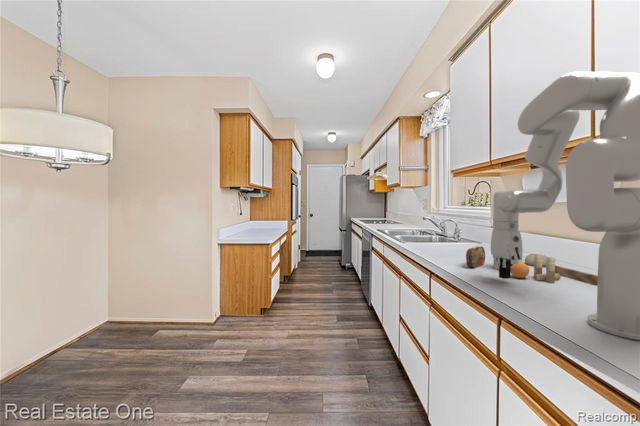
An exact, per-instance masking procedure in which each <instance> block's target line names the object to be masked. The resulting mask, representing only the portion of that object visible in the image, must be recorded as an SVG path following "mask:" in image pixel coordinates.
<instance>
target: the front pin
mask: <svg viewBox="0 0 640 426" xmlns="http://www.w3.org/2000/svg"><path fill="white" fill-rule="evenodd" d="M533 279H534V280H535V281H537V282H541V281H542V282H543V281H545V282H546V273H542V274H535V275H534V274H533ZM558 280H561V276H560V274H558V273H555V281H558Z"/></svg>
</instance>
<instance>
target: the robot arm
mask: <svg viewBox="0 0 640 426" xmlns="http://www.w3.org/2000/svg"><path fill="white" fill-rule="evenodd" d="M580 111H605V112H604V113H603V115H602V117H601V119H600V123H599V129H598V130H599V137H594V138H589V139H586V140H582V141H581V142H579V143H577V144H576V145H575V146H574V147H573V148H572V150H571V151H570V152H569V154H568V156H567V159H566V162H565V188H566V191H565V192H566V208H567V210H566V211H567V214H568V217H569V219H570V222H571V223H572V224H573V225H574V226H575V227H576V228H578V229H580V230H582V231H585V232H592V233H602V232H603V233H604V234H603V235H602V238H601V241H600V244H599V247H598V257H597V261H598V262H597V276H598V285H596V286H597V288H596V289H597V290H596V313H590V314H588V315H587V323H588V324H589V325H591V326H592V327H593V328H595V329H596V330H597V329H598V330H600V331H602V332H605V333H607V334H610V335H613V336H618V337H621V338H626V339H630V340H635V341H640V187H615V182H616V183H619V182H620V183H621V182H622V183H623V182H624V183H625V182H635V181H636V182H637V181H640V73H639V72H638V73H637V72H629V71H628V72H625V71H624V72H622V71H621V72H619V71H617V72H616V71H615V72H614V71H573V72H568V73H566V74H563V75H561V76H559V77H558V78H556V80H554V81H553V82H551V84H549V85H548V86H547V87H546V88H545V89H543V90H542V91H541V92H540V93H539V94H538V95H537V96H535V97H534V98H533V99H532V100H531V101H530V102H529V103H528V104H527V105H526V106H525V107H524V109H522V111H521V113H520V115H519V118H518V121H517V129H518V132H519V133H521V134H523V135H527V136H530V135H531V136H532V138H531V140H530V143H529V145H528V148H527V150H526V152H525V155H524V159H525V160H526V161H527V162H528V163H529V164H531V165H533V166H535V167H538V168H540V170H541V172H542V178H541V181H540V184H539V185H538V188H537V189H534V188H531V189H525V188H524V189H512V190H499V191H496V192H494V194H493V198H492V199H493V203H492V205H493V207H492V208H493V209H492V232H491V239H490V254H491V255H492V259H493V260H494V259H495V260H497V262H498V266H499V270H498V277H499V279H502V280H503V279H504V280H505V279H506V280H507V279H511V277H512V274H511V267H512V265H513V264H518V260H520V259H522V260H523V240H522V234H521V232H520V230H519V214H524V213H529V214H530V213H544V212H546V211H549V210H550V209H551V208H552V207H553V205H554V204H555V202H556V201H557V199H558V197H559V195H560V193H561V191H562V188H563V174H562V170H561V167H560V164H559V163H560V160H561V158H562V156H563V154H564V152H565V149H566V147H567V145H568V143H569V141H570V139H571V138H572V135H573V133H574V131H575V129H576V126H577V124H578V122H579V119H580V116H581V115H580V114H581V113H580Z"/></svg>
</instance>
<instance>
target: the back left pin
mask: <svg viewBox="0 0 640 426" xmlns="http://www.w3.org/2000/svg"><path fill="white" fill-rule="evenodd" d="M542 255H543V254H539V255H534V266H533V276H534V275H535V274H543V267H542V261H543V256H542Z"/></svg>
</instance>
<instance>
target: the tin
mask: <svg viewBox="0 0 640 426" xmlns="http://www.w3.org/2000/svg"><path fill="white" fill-rule="evenodd" d="M465 257H466V258H465V259H466V260H465V261H466V265H467V267H468V268H471V269H477V268H479V267H481V266H483V265H484V264H485V261H486V250H485V248H484V246H474V247H470V248H468V249H467V250H466V253H465Z"/></svg>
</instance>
